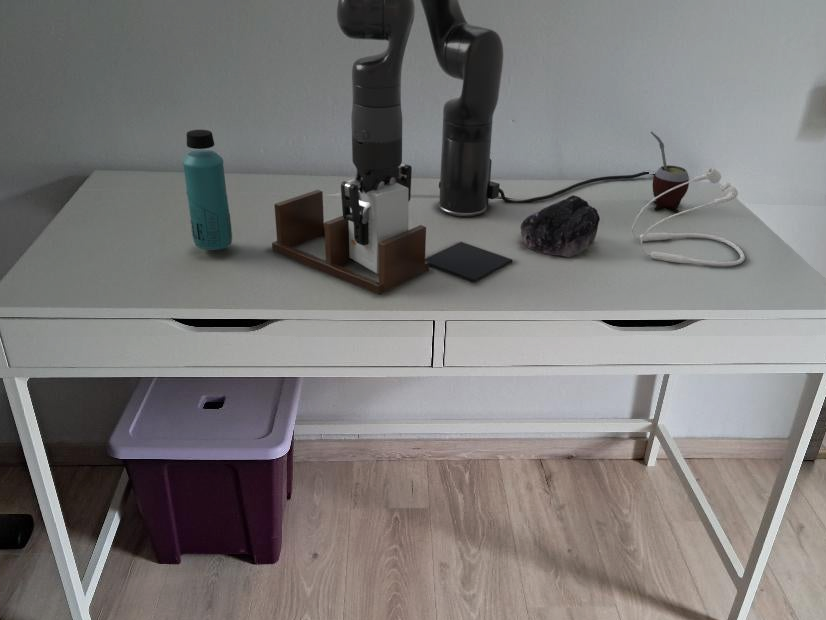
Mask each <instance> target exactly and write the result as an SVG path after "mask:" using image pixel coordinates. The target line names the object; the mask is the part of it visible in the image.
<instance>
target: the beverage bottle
mask: <svg viewBox="0 0 826 620" xmlns="http://www.w3.org/2000/svg"><path fill="white" fill-rule="evenodd" d="M214 146H215V140H214V136H213V132H212V131H211V130H207V129H192V130H189V131H187V132H186V147H187V148H189V149H194V150H192V151H190V152H188V153H187V154H186V155H185V157H184V158H183V159H182V160H181V161H182V167H183V172H184V173H183V174H184V180H185V189H186V190H185V194H186V195H187V202H188V209H189V218H190V226H191V227H190V230H191V235H192V239H193V240H192V242H193V243H194V246H196V247H197V248H198V249H200V250H207V251H215V250H216V251H218V250H222V249H225V248H228V247H230V246H231V245H232V242H233V233H232V232H233V229H232V221H231V214H230V211H231V210H230V209H231V208H230V207H229V201H228V193H227V186H226V177H225V168H224V167H225V166H224V158H223V157H222V156H221V155H220V154H219V153H217V152H215V151H214V150H210V149H211V148H213V147H214ZM229 208H230V209H229Z"/></svg>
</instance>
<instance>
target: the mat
mask: <svg viewBox="0 0 826 620" xmlns="http://www.w3.org/2000/svg"><path fill="white" fill-rule="evenodd" d="M425 261H427V262H429V267H430V268H434V269H436V270H439V271H441V272H444V273H447V274H449V275H452V276H454V277H458V278H460V279H463V280H466V281H468V282H471V283H473V284H475V283H477V282H479V281H480V280H482V279H485V278H486V277H488V276H490V275H492V274H494V273H495V272H497V271H499V270H501V269H503V268H505V267H506V266H508V265H510V264H512V263H513V259H512V258H509V257H506V256H504V255H500V254H498V253H496V252H495V253H494V252H492V251H490V250H489V251H488V250H486V249H483V248H480V247H478V246H474V245H472V244H469V243H466V242H463V241H459V242H457V243H455V244H453V245H451V246H449V247H447V248H445V249H443V250H441V251H439V252H437V253H434V254H432V255H430V256H428V257H425Z"/></svg>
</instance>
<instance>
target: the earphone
mask: <svg viewBox="0 0 826 620" xmlns="http://www.w3.org/2000/svg"><path fill="white" fill-rule="evenodd" d="M721 179H722V174H721V173H720V171H718V170H717V169H716V168H715V167H708V168H707V169H706V171H705V173H704V174H701V175H698V176H695V177H693V179H691V180H689V181H688V182H686V183H683V184H681V185H678V186H676V187H674V188H672V189H670V190H668V191H666V192H664V193H662V194H660V195H659V196H657V197H654V198H652V199H651V200H650V201H649V202H647V203H646V204H645V205H644V206H643V207H642V208H641V210H640V211H639V213H638V214H637V216H636V218H635V219H634V221H633V224H632V226H631V233H632V235H633V236H634V238H637V239H638V240H639V241H640V242H639V243H640V244H639V245H640V248H641V250H642V251H643V252H644V253H645V254H647V255H648V256H650V258H651V259H652V260H657V261H664V262H671V263H677V264H678V263H679V264H689V263H690V264H696V265H702V266H703V265H704V266H713V267H734V266H737V265H740V264H742V263H743V262H744V261H745V258H746V256H745V253H744V252H743V250H742V249H741V248H740V247H739V246H738V245H737V244H735V243H734V242H732V241H731V240H729V239H727V238H724V237H722V236H721V237H720V236H717V235H714V234H713V235H712V234H706V233H698V232H697V233H695V232H680V233H677V232H676V233H671V232H650V231H651V230H652V229H653V228H654V227H656V226H657V225H659V224H660V223H661V224H662V222H665V221H667V220H669V219H672V218H675V217H677V216H679V215H682V214H684V213H688V212H691V211H694V210H697V209H700V208H705V207H707V206H710V205H721V204H723V203H728V202H732V201H733V200H735V199H736V198H737V197H738V195H739V191H738V189H737V188H736V187H735V186H733V185H731V183H730V182H729V181H724V182H723V183H721V184H720V185H719V190H720V191H721V192H722V195H723V196H722V197H718V198H715V199H714V200H713V201H712V202H708V203H705V204H701V205H698V206H695V207H692V208H688V209H685V210H683V211H680V212H678V213H674V214H672V215H670V216H667V217H665V218H663V219H661V220H659V221H657V222H655V223H654V224H652V225H651V226H649V228H648V229H647V230H646V231H644V233H641V234H640V235H639V236H638V235H637V234H636V233H635V225H636V223H637V221H638V219H639V217H640V216H641V214H642V213H643V212H644V211H645V209H646V208H648V206H650V205H651V204H652V203H654V201H655V200H656V199H657V198H658V197H660V196H662V195H664V194H665V193H667V192H669V191H671V190H673V189H676V188H678V187H680V186H683V185H685V184H688V183H689V184H690V183H693V182H694V183H697V182H701V181H704V180H708V182H710V183H711V184H718V183H719V182H720V181H721ZM672 238H701V239H708V240H713V241H717V242H720V243H724V244H726V245H728V246H729V247H731V248H733V250H735V251H736V252H737V254H738V255H739V257H740V258H739V259H737V260H734V261H712V260H711V261H710V260H705V259H704V260H703V259H698V258H697V259H696V258H691V257H688V256H685V255H681V254H675V253H674V254H673V253H667V252H661V251H655V250H654V251H652V252H651V253H650V252H649V251H647V250H646V249H645V248H644V246H643V242H651V241H653V242H654V241H667V240H669V239H672Z"/></svg>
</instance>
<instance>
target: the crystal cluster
mask: <svg viewBox="0 0 826 620" xmlns="http://www.w3.org/2000/svg"><path fill="white" fill-rule="evenodd" d="M598 212H599V211H598V209H596V208H595V207H592V205H590V204H589V202H588V201H587V200H584V199H583V198H582V197H580V196H578V195H574V194H573V195H570V196H568V197H567V198H565V199H562V200H559V201H557V202H554V203H552V204H550V205H548V206H546V207H544V208H541V209H540V210H539V211H537V212H534V213H533V214H530V215H529V216H527V217H526V218H524V219H523V220H522V223H521V224H520V234H521V238H522V240H523V243H524V246H525V247H526V248H527V249H529V250H530V249H531V250H534V251H535V252H538V253H543V254H546V255H547V254H549V255H551V256H553V255H554V256H562V257H567V258H571V257H574V256H577V255H581V254H582V253H583V252H584V250H586V249H587V248H589V247H590V246H591V245H593V243H594V241H595V239H596V236H597V234H598V230H599V223H600V220H601V218H600V215H599V213H598Z"/></svg>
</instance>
